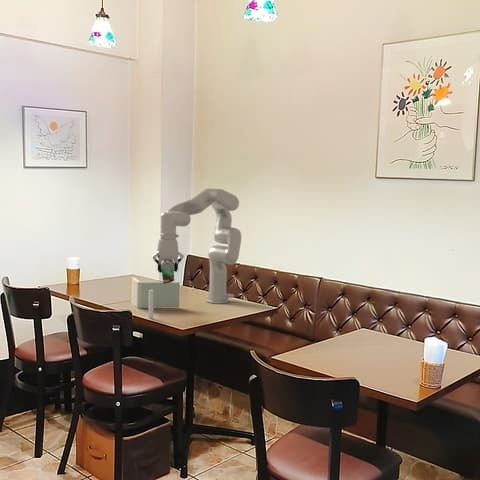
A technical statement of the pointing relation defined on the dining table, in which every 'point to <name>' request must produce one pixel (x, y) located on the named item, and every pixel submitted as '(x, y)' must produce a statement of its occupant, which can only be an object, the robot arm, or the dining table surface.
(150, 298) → the door frame
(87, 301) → the dining table surface
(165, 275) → the food container
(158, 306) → the door
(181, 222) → the robot arm
